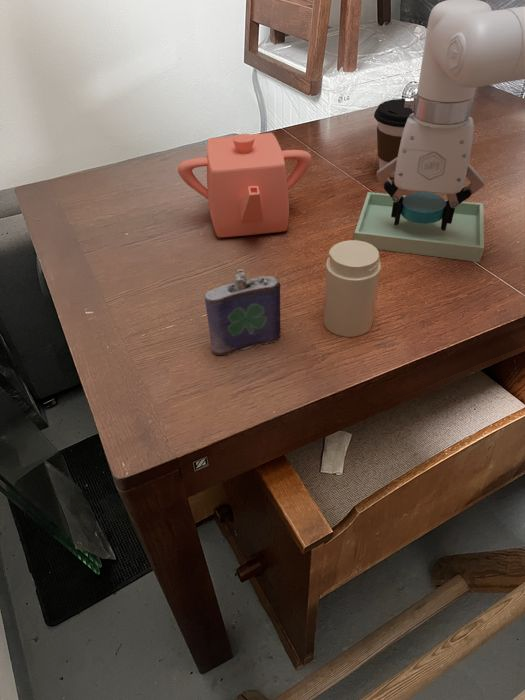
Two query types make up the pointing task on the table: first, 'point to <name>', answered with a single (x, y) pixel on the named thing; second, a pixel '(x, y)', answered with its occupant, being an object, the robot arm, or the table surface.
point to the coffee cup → (390, 129)
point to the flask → (243, 313)
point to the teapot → (246, 183)
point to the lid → (423, 207)
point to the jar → (351, 288)
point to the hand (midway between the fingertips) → (420, 223)
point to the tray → (422, 231)
